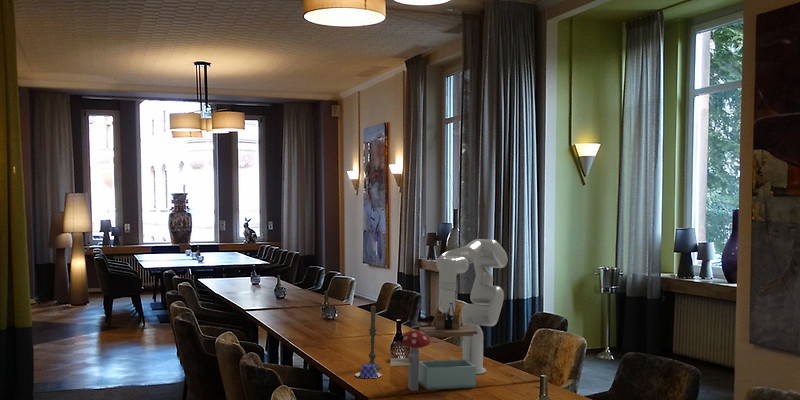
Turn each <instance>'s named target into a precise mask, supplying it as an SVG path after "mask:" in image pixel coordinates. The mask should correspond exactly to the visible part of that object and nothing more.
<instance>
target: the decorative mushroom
mask: <svg viewBox="0 0 800 400" xmlns="http://www.w3.org/2000/svg"><path fill="white" fill-rule="evenodd" d="M401 336H403V339H402V344H401V345H402V346H404V347H406V348H409V354H414V353H415V354H417V355H418V356H419V357H420V348H424V347H427V346H429V345H430V343H431V342H432V340H431V338H430V337H429V336H427V335H426V334H424V333H423V332H421V331H420V330H419V329H418V330H417V329H411V330H408V331H407V332H406V331H405V333H403V334H402V335H401Z"/></svg>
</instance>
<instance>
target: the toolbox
mask: <svg viewBox="0 0 800 400" xmlns="http://www.w3.org/2000/svg"><path fill="white" fill-rule="evenodd" d="M407 358H411V365H407V389H409V390H410V391H411V392H416V391H419V384H420V385H421V386H422V387H424V389H425V390H427V391H428V390H429V391H430V390H448V389H469V388H470V389H471V388H477V374H476V366H475V365H473V364H472V363H470V362H469V361H467V360H463V359H447V360H446V359H445V360H443V359H442V360H420V355H419V356H418V355H417V354H415V353H414V354H410V353H408V357H407Z"/></svg>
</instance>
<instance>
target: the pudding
mask: <svg viewBox="0 0 800 400" xmlns="http://www.w3.org/2000/svg"><path fill="white" fill-rule="evenodd" d="M377 375H378V377H377ZM354 376H356V377H358V378H361V379H362V378H363V379H376V378H380V377H381V376H383V374H381V373H379V372H377V370H376V367H375V365H373V364H367V363H364V364H362V365H361V368H360V372H357V373H355V375H354ZM359 376H360V377H359ZM364 377H365V378H364ZM368 377H369V378H368Z"/></svg>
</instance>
